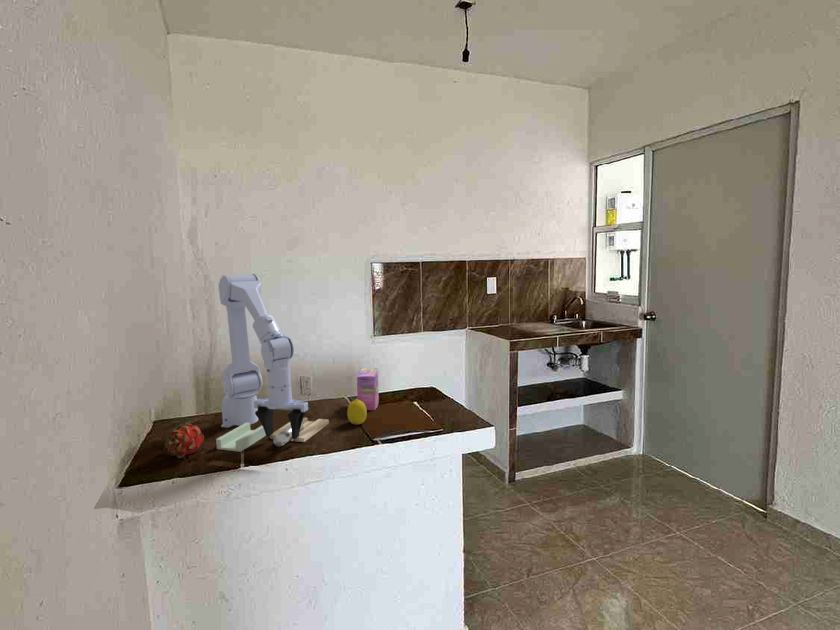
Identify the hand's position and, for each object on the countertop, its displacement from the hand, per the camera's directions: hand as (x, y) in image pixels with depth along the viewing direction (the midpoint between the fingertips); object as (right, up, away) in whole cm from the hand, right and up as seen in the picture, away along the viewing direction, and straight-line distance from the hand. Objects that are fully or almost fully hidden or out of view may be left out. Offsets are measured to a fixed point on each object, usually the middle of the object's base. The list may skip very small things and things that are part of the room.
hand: (282, 436), depth 121 cm
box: (+19, +1, +30) cm, 36 cm away
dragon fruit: (-23, -4, -3) cm, 24 cm away
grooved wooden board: (+2, -2, +9) cm, 9 cm away
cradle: (-11, -3, +2) cm, 11 cm away
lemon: (+17, -1, +14) cm, 22 cm away
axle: (+1, -1, +3) cm, 3 cm away
